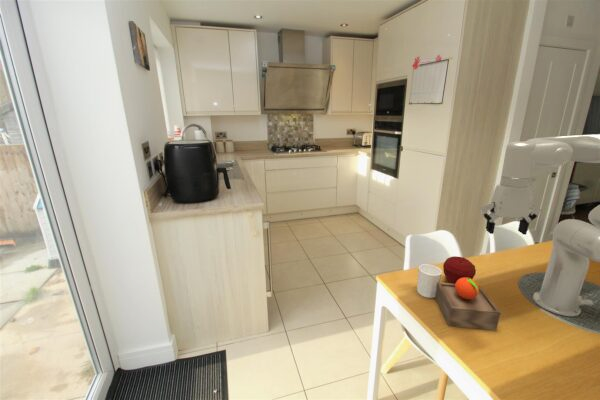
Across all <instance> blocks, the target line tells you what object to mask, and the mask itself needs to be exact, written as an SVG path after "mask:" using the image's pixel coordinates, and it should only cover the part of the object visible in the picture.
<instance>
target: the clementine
mask: <svg viewBox="0 0 600 400" xmlns="http://www.w3.org/2000/svg"><path fill="white" fill-rule="evenodd" d="M478 286H479V284H478V283H477V282H476V281H475V280H474V279H471V278H467V277H464V278H460V279H459V280H457V282H456V284H455V290H456V292H457V294H458V295H459V296H461V297H462V298H464V299H473V298H475V297H476V296H477V295H478V293H479V287H478Z"/></svg>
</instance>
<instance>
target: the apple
mask: <svg viewBox="0 0 600 400" xmlns="http://www.w3.org/2000/svg"><path fill="white" fill-rule="evenodd" d="M442 268H443V269H442V270H443V273H444V277H445V279H446V280H447V281H448V283H450V284H456V282H457V280H459V279H460V278H464V277H467V278H471V279H472V280H474V277H475V275H476V272H477V271H476V265H474V264H473V263H472V262H471V261H470V260H469V259H468V258H465V257H462V256H449V257H448V258H446V260H445V261H444V262H443V265H442Z"/></svg>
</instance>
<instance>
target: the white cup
mask: <svg viewBox="0 0 600 400" xmlns="http://www.w3.org/2000/svg"><path fill="white" fill-rule="evenodd" d="M417 272H418V273H417V288H416V291H417V293H418V294H419V296H422V297H424V298H427V299H434V298H435V297H436V290H437V284H438V283H441V278H442V275H443V271H442V269H441V268H440V267H437V266H436V265H433V264H429V263H423V264H420V265H418V271H417Z"/></svg>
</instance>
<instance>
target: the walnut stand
mask: <svg viewBox="0 0 600 400" xmlns="http://www.w3.org/2000/svg"><path fill="white" fill-rule="evenodd" d="M478 287H479V293H478V295H477V296H476V297H475V298H473V299H464V298H462V297H461V296H459V295H458V294H457V292H456V290H455V284H451V283H450V282H440V283H438V284H437V290H436V297H434V298H435V301H436V303H437V305H438V307H439V310H440V311H441V313H442V316H443V317H444V320H445V322H446V324H447V326H450V327H458V328H467V329H475V330H484V331H493V332H494V331H495V332H497V329H498V324H499V320H500V316H501V311H500V310H499V309H498V307H497V306H496V305H495V303H494V302H493V301H492V300H491V299H490V297H489V296H488V294H487V293H486V291H484V289H483V288H482V286H480V285H478Z"/></svg>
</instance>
